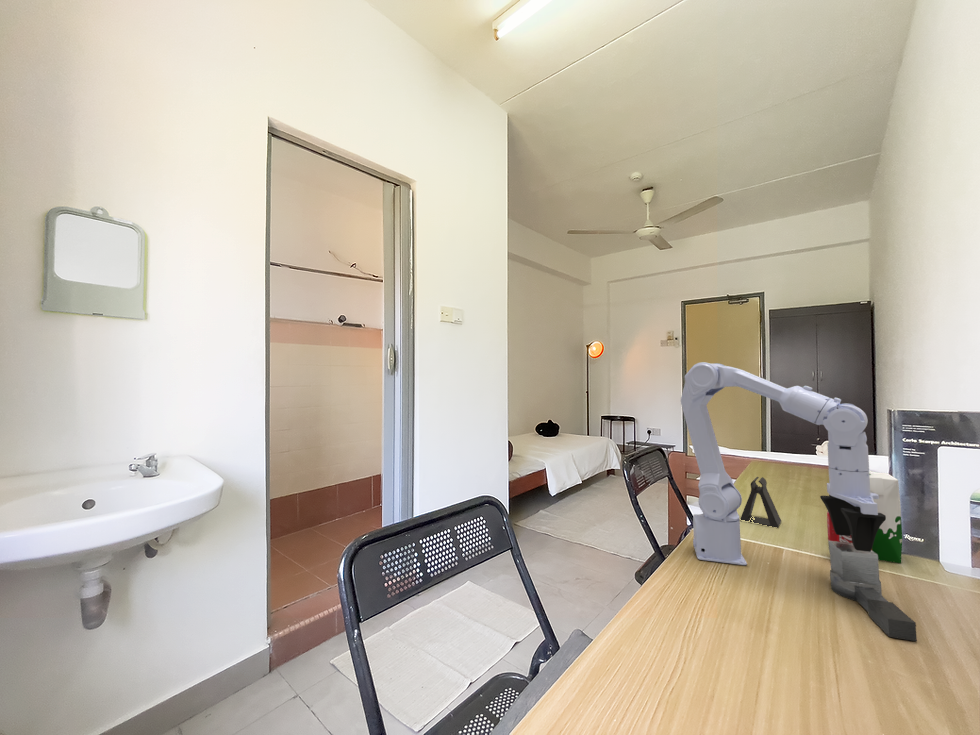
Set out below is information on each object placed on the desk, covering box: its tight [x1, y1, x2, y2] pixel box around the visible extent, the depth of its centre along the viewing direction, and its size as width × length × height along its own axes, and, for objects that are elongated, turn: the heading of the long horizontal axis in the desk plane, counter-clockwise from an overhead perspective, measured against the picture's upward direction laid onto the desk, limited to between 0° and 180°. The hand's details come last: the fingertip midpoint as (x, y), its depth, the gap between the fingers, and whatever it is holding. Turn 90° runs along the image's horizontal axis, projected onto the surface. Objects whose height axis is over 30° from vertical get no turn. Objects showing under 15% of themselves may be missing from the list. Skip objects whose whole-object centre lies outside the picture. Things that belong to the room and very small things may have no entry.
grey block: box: [828, 541, 881, 585], centre depth 74 cm, size 5×5×5 cm
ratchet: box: [829, 568, 918, 642], centre depth 69 cm, size 18×7×6 cm, turn 159°
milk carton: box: [869, 470, 903, 564], centre depth 91 cm, size 9×9×20 cm
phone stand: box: [739, 476, 782, 529], centre depth 113 cm, size 9×6×12 cm, turn 48°
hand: (852, 542), depth 74 cm, fingers open, 7 cm apart
